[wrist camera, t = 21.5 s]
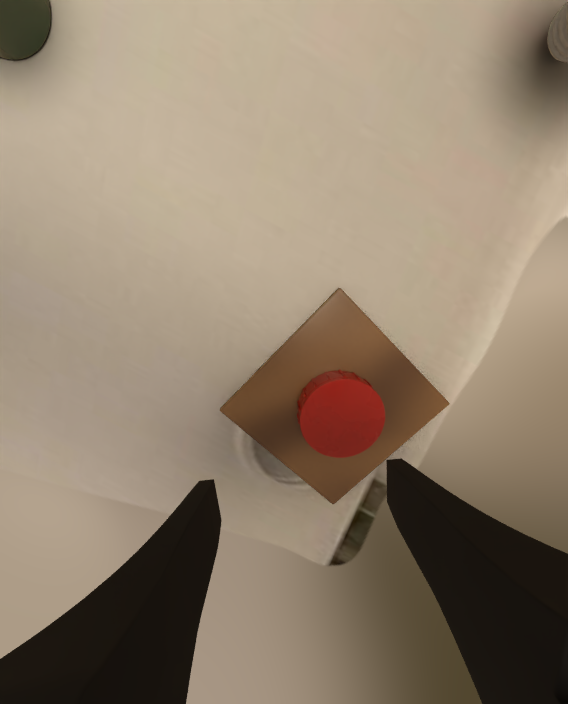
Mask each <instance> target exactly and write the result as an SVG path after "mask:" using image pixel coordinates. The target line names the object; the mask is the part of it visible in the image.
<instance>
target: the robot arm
mask: <svg viewBox="0 0 568 704" xmlns="http://www.w3.org/2000/svg"><path fill="white" fill-rule="evenodd" d="M387 503H388V505H389V507H390V510H391V512H392V515H393V518H394V520H395V522H396V525H397V527H398V529H399V531H400V533H401V535H402V536H403V538H404V540H405V542H406V544H407V545H408V547H409V549H410V551H411V553H412V555H413V557H414V558H415V560H416V562H417V564H418V566H419V567H420V569H421V571H422V573H423V575H424V577H425V578H426V580H427V582H428V584H429V586H430V587H431V589H432V591H433V593H434V595H435V597H436V599H437V601H438V603H439V605H440V607H441V610H442V612H443V614H444V616H445V618H446V621H447V623H448V625H449V627H450V630H451V632H452V634H453V636H454V638H455V640H456V643H457V645H458V648H459V650H460V652H461V654H462V657H463V659H464V661H465V664H466V666H467V668H468V671H469V673H470V675H471V678H472V680H473V682H474V685H475V687H476V689H477V692H478V694H479V697H480V699H481V701H482V704H568V554H567V553H565V552H562V551H560V550H558V549H555V548H553V547H551V546H548V545H546V544H544V543H542V542H540V541H538V540H536V539H533V538H531V537H529V536H527V535H525V534H523V533H521V532H519V531H517V530H514V529H513V528H511V527H509V526H507V525H505V524H503V523H501V522H499V521H498V520H496V519H494V518H492V517H490V516H488V515H486V514H485V513H483V512H481V511H479V510H478V509H476V508H474V507H473V506H471V505H469V504H468V503H466V502H465V501H463V500H461V499H459V498H458V497H457V496H455V495H453V494H452V493H450V492H449V491H447V490H446V489H444V488H443V487H441V486H440V485H438V484H437V483H435V482H434V481H433V480H431V479H430V478H428V477H427V476H425V475H424V474H423V473H421V472H420V471H418V470H417V469H416V468H414V467H413V466H411V465H410V464H409V463H407V462H406V461H404V460H403V459H393V460H387ZM220 528H221V515H220V510H219V504H218V499H217V494H216V488H215V483H214V479H213V480H204V481H199V482H198V483H197V484H196V485H195V487H194V488H193V489H192V490H191V491H190V493H189V494H188V495H187V496H186V497H185V499H184V500H183V501H182V502H181V503H180V505H179V506H178V507H177V508H176V509H175V511H174V512H173V513H172V514H171V515H170V516H169V518H168V519H167V520H166V521H165V522H164V523H163V525H162V526H161V527H160V528H159V529H158V530H157V531H156V532H155V533H154V534H153V535H152V537H151V538H150V539H149V540H148V541H147V542H146V543H145V544H144V545H143V546H142V547H141V548H140V549H139V550H138V551H137V552H136V553H135V554H134V555H133V556H132V557H131V558H130V559H129V560H128V561H127V562H126V563H125V564H123V565H122V566H121V567H120V568H119V569H118V570H117V571H116V572H115V573H114V574H112V575H111V576H110V577H109V578H108V579H107V580H105V581H104V582H103V583H102V584H101V585H99V586H98V587H97V588H96V589H95V590H94V591H92V592H91V593H90V594H89V595H88V596H86V597H85V598H84V599H83V600H82V601H80V602H79V603H78V604H76V605H75V606H74V607H73V608H71V609H70V610H69V611H67V612H66V613H65V614H63V615H62V616H61V617H59V618H58V619H57V620H55V621H54V622H53V623H51V624H50V625H49V626H47V627H46V628H45V629H43V630H42V631H40V632H39V633H38V634H36V635H35V636H33V637H32V638H31V639H29V640H28V641H26V642H25V643H23V644H22V645H20V646H19V647H17V648H16V649H14V650H13V651H12V652H10V653H8V654H7V655H6V656H4V657H3V658H1V659H0V704H186V699H187V693H188V686H189V680H190V673H191V667H192V661H193V655H194V649H195V643H196V637H197V631H198V627H199V623H200V618H201V613H202V610H203V606H204V602H205V598H206V594H207V590H208V586H209V582H210V578H211V573H212V570H213V565H214V561H215V557H216V553H217V549H218V543H219V535H220Z"/></svg>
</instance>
